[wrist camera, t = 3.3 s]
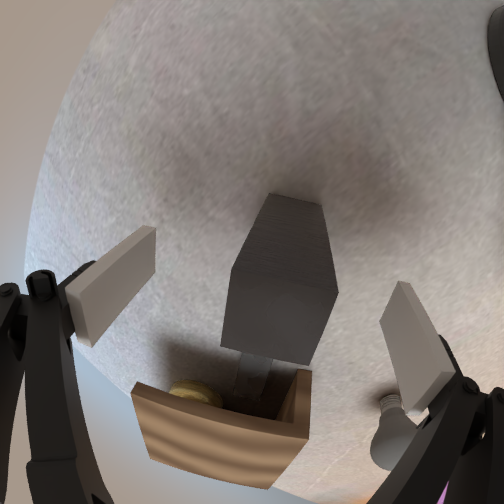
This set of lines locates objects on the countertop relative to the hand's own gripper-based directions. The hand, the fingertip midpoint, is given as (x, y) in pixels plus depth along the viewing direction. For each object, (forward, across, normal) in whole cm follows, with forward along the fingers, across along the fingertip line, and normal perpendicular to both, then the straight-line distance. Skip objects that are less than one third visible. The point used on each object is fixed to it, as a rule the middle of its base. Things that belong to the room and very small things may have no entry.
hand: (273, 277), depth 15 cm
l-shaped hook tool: (+8, 0, -9) cm, 12 cm away
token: (+9, -6, -25) cm, 27 cm away
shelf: (+8, -2, -23) cm, 25 cm away
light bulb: (+8, +18, -18) cm, 26 cm away
